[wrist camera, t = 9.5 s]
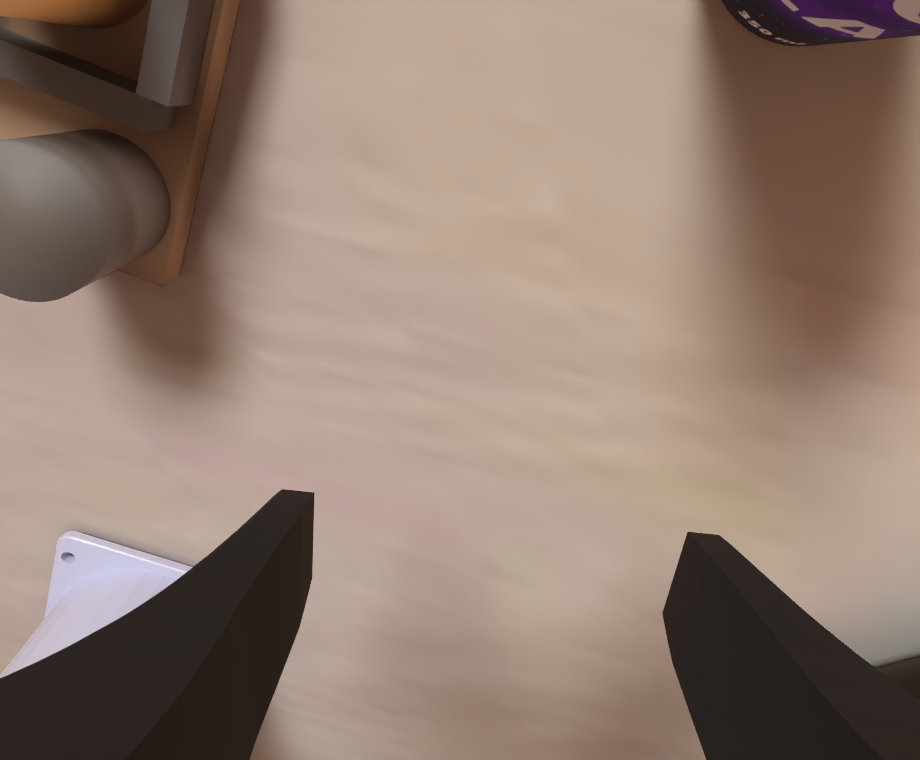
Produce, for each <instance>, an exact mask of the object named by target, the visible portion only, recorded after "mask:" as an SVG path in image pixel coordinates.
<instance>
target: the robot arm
mask: <svg viewBox="0 0 920 760" xmlns="http://www.w3.org/2000/svg"><path fill="white" fill-rule="evenodd" d="M313 520H314V493H312V492H302V491H293V490H283V489H282V490H281V491H279V492H278V493H277V494H276V495H274V496H273V497H272V498H271V499H270V500H269V501H268V502H267V503H266V504H265V505H264V506H263V507H262V508H261V509H260V510H259V511H258V512H257V513H255V514H254V515H253V516H252V517H251V518H250V519H249V520H248V521H247V522H246V523H245V524H244V525H242V526H241V527H240V528H239V529H238V530H237V531H236V532H235V533H234V534H232V535H231V536H230V537H229V538H228V539H227V540H225V541H224V542H223V543H222V544H221V545H220V546H218V547H217V548H216V549H215V550H214V551H213V552H211V553H210V554H209V555H208V556H207V557H205V558H204V559H203V560H202V561H200V562H199V563H198V564H196V565H195V566H194V567H190V566H187V565H184V564H181V563H177V562H174V561H171V560H168V559H164V558H161V557H158V556H155V555H151V554H148V553H145V552H142V551H138V550H135V549H132V548H129V547H125V546H122V545H119V544H116V543H112V542H109V541H106V540H103V539H99V538H96V537H93V536H89V535H86V534H83V533H80V532H76V531H68V532H66V533H64V534H63V535H62V536H61V537H60V539H59V540H58V542H57V547H56V552H55V558H54V564H53V570H52V576H51V581H50V587H49V593H48V599H47V605H46V610H45V616H44V621H43V622H42V623H41V624H40V626H39V627H38V628H37V629H36V631H35V632H34V633H33V634H32V636H31V637H30V638H29V639H28V641H27V642H26V643H25V644H24V646H23V647H22V648H21V649H20V651H19V652H18V653H17V655H16V656H15V657H14V658H13V660H12V661H11V662H10V663H9V665H8V666H7V667H6V668H5V670H4V671H3V672H2V673H1V675H0V760H249V759H250V756H251V753H252V750H253V747H254V744H255V741H256V739H257V736H258V733H259V730H260V728H261V725H262V723H263V720H264V718H265V715H266V712H267V710H268V707H269V705H270V702H271V700H272V697H273V694H274V692H275V689H276V687H277V684H278V682H279V679H280V676H281V674H282V671H283V669H284V666H285V664H286V661H287V658H288V656H289V653H290V650H291V648H292V645H293V643H294V640H295V637H296V635H297V632H298V629H299V627H300V623H301V619H302V615H303V612H304V608H305V604H306V600H307V596H308V592H309V588H310V584H311V580H312V559H313ZM68 552H69V553H71V554H73V555H74V556H72V555H70V554H69V553H68ZM663 618H664V623H665V629H666V634H667V639H668V644H669V648H670V653H671V657H672V662H673V665H674V668H675V671H676V674H677V677H678V680H679V683H680V686H681V689H682V692H683V695H684V697H685V700H686V703H687V706H688V709H689V712H690V715H691V717H692V720H693V723H694V726H695V729H696V731H697V734H698V737H699V740H700V743H701V746H702V748H703V751H704V754H705V757H706V760H920V699H919V698H917V697H916V696H914V695H913V694H911V693H910V692H908V691H907V690H906V689H904V688H903V687H901V686H900V685H899V684H897V683H896V682H894V681H893V680H891V679H890V678H889V677H887V676H886V675H884V674H883V673H882V672H880V671H879V670H877V669H876V668H875V667H873V666H872V665H871V664H869V663H868V662H867V661H865V660H864V659H863V658H861V657H860V656H859V655H857V654H856V653H855V652H854V651H852V650H851V649H850V648H849V647H847V646H846V645H845V644H844V643H842V642H841V641H840V640H839V639H837V638H836V637H835V636H834V635H833V634H831V633H830V632H829V631H828V630H826V629H825V628H824V627H823V626H822V625H820V624H819V623H818V622H817V621H816V620H814V619H813V618H812V617H811V616H810V615H809V614H807V613H806V612H805V611H804V610H803V609H802V608H801V607H799V606H798V605H797V604H796V603H795V602H794V601H793V600H791V599H790V598H789V597H788V596H787V595H786V594H785V593H784V592H783V591H781V590H780V589H779V588H778V587H777V586H776V585H775V584H774V583H773V582H771V581H770V580H769V579H768V578H767V577H766V576H765V575H764V574H763V573H762V572H760V571H759V570H758V569H757V568H756V567H755V566H754V565H753V564H752V563H751V562H750V561H748V560H747V559H746V558H745V557H744V556H743V555H742V554H741V553H740V552H738V551H737V550H736V549H735V548H734V547H733V546H732V545H730V544H729V543H728V542H727V541H726V540H724V539H723V538H722V537H721V536H719V535H713V534H703V533H694V532H688V533H687V536H686V539H685V542H684V545H683V549H682V552H681V555H680V558H679V562H678V565H677V568H676V571H675V575H674V578H673V581H672V584H671V587H670V591H669V594H668V597H667V600H666V604H665V607H664V610H663Z"/></svg>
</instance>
